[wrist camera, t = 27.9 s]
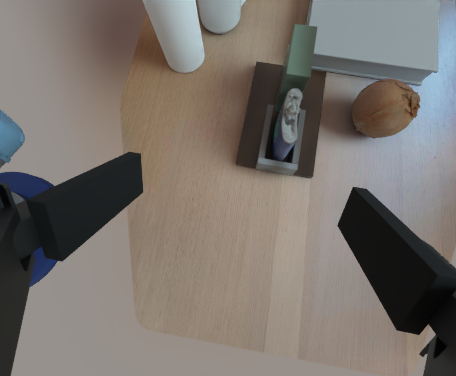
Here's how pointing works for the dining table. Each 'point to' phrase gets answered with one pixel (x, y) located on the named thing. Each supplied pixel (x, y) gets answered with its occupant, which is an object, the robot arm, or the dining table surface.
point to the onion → (385, 108)
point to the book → (376, 38)
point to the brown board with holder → (272, 102)
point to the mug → (220, 14)
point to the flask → (286, 125)
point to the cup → (177, 32)
